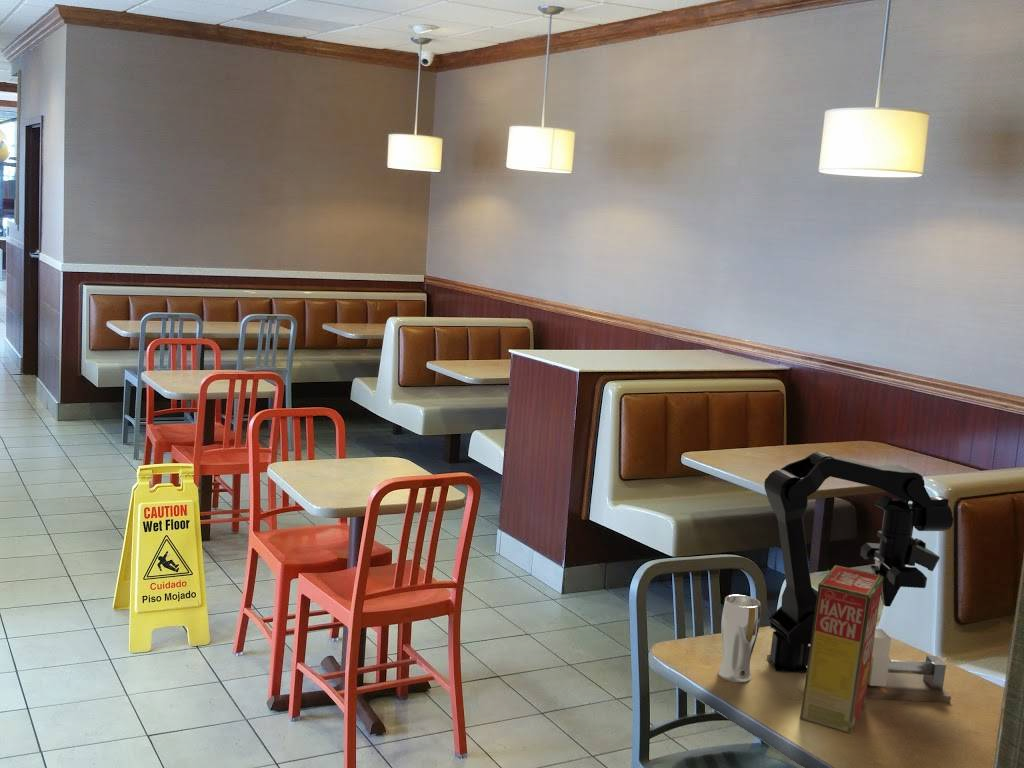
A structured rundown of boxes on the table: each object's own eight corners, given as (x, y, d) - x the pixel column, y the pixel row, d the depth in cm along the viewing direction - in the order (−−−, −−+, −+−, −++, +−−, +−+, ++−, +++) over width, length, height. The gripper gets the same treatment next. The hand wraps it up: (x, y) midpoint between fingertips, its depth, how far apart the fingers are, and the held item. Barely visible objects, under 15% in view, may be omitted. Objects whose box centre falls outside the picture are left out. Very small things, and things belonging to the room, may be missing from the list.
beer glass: (750, 669, 199) (759, 596, 196) (755, 685, 192) (764, 609, 189) (714, 665, 199) (722, 592, 197) (717, 681, 192) (726, 605, 190)
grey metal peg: (853, 685, 192) (856, 660, 191) (846, 675, 196) (849, 651, 195) (942, 690, 193) (946, 665, 192) (933, 680, 197) (936, 656, 196)
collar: (870, 685, 191) (876, 638, 190) (859, 672, 197) (865, 627, 195) (885, 686, 192) (892, 639, 190) (874, 673, 197) (880, 627, 196)
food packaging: (852, 735, 175) (871, 596, 171) (797, 719, 180) (814, 582, 176) (867, 705, 187) (885, 574, 183) (815, 691, 191) (831, 563, 187)
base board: (854, 697, 190) (855, 690, 190) (838, 675, 199) (839, 669, 199) (950, 702, 191) (951, 695, 190) (929, 680, 200) (930, 674, 199)
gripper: (958, 548, 193) (947, 626, 196) (917, 519, 212) (907, 591, 214) (900, 544, 193) (890, 623, 195) (864, 515, 211) (854, 588, 214)
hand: (886, 605), depth 205 cm, fingers closed
